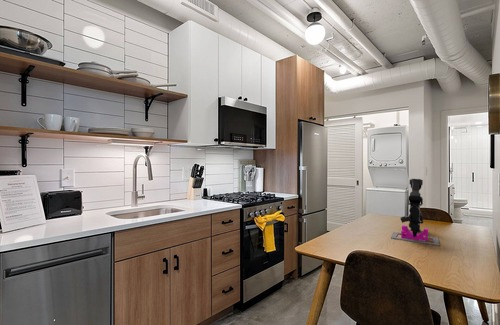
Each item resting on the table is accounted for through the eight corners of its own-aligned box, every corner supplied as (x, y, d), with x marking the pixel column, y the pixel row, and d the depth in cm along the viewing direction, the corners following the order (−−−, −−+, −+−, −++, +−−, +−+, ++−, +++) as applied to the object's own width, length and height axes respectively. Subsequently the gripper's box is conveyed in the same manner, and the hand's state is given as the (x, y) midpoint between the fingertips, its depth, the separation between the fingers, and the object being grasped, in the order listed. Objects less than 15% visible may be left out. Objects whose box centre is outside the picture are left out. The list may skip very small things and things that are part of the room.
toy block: (401, 237, 181) (401, 226, 181) (402, 235, 186) (402, 225, 186) (427, 241, 172) (427, 230, 172) (428, 239, 177) (428, 228, 177)
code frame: (393, 232, 194) (393, 231, 194) (438, 238, 179) (438, 238, 179) (390, 238, 179) (390, 237, 179) (439, 245, 164) (439, 244, 164)
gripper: (402, 209, 191) (401, 230, 191) (400, 213, 175) (399, 236, 175) (420, 211, 185) (420, 233, 185) (420, 215, 169) (419, 239, 169)
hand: (414, 235), depth 179 cm, fingers closed on toy block, 6 cm apart
